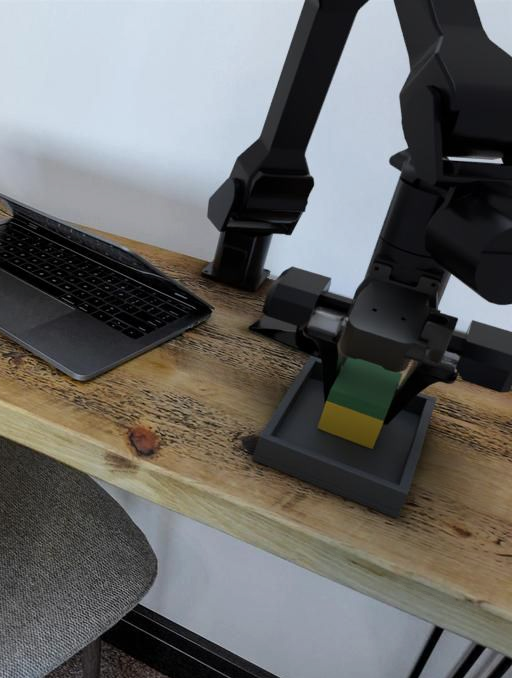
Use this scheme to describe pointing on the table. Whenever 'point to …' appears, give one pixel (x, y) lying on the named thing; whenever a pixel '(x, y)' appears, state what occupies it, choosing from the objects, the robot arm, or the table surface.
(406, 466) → the tray
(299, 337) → the black mechanical part
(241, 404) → the table surface
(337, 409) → the sponge
